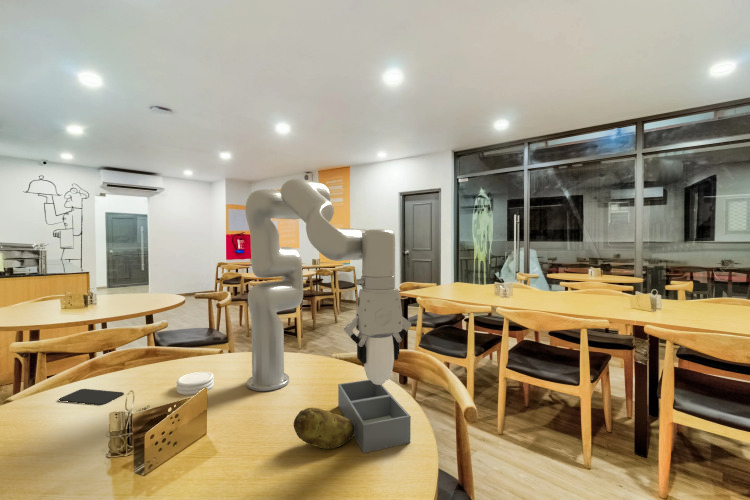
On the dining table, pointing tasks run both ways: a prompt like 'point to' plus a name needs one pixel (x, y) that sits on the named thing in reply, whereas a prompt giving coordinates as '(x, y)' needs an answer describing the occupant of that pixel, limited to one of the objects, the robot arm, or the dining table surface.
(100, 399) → the phone
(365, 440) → the divided open storage box
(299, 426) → the potato
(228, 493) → the dining table surface
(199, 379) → the coaster
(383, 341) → the cup
